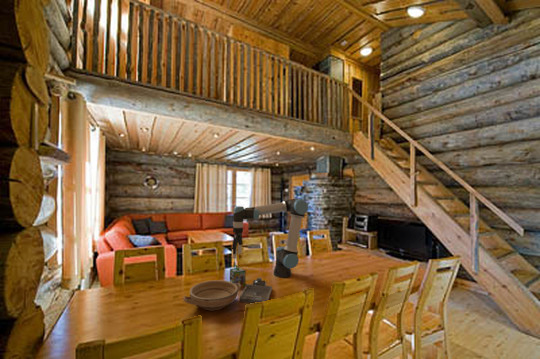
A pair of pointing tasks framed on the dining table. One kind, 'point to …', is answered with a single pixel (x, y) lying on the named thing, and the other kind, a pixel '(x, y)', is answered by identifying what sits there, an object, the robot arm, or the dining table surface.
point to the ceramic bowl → (213, 294)
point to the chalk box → (238, 276)
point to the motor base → (256, 292)
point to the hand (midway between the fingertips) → (237, 255)
